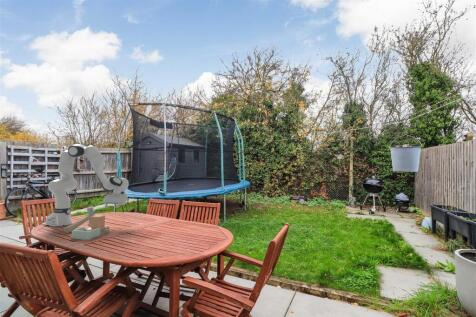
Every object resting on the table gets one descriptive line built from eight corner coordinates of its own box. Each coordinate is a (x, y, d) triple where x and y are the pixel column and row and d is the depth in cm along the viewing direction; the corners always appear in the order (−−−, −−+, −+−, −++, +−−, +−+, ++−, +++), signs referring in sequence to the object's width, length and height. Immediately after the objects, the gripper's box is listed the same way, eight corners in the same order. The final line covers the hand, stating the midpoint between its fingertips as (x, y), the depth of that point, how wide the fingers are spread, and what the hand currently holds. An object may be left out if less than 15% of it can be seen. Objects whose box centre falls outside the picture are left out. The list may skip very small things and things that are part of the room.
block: (90, 228, 224) (91, 216, 224) (96, 226, 231) (96, 214, 231) (99, 228, 223) (99, 217, 223) (104, 226, 230) (104, 215, 230)
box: (71, 238, 209) (71, 230, 209) (83, 234, 220) (83, 226, 220) (89, 240, 206) (89, 231, 206) (99, 235, 218) (100, 227, 218)
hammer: (67, 221, 219) (94, 206, 248) (61, 221, 220) (89, 206, 249) (70, 240, 223) (96, 223, 251) (65, 240, 224) (91, 223, 252)
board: (83, 234, 220) (83, 229, 220) (93, 230, 232) (93, 225, 232) (99, 235, 218) (99, 230, 218) (109, 231, 230) (109, 226, 230)
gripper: (105, 191, 252) (98, 204, 243) (127, 192, 248) (120, 205, 239) (108, 196, 256) (101, 209, 247) (129, 197, 253) (123, 210, 243)
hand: (110, 207), depth 243 cm, fingers open, 8 cm apart
